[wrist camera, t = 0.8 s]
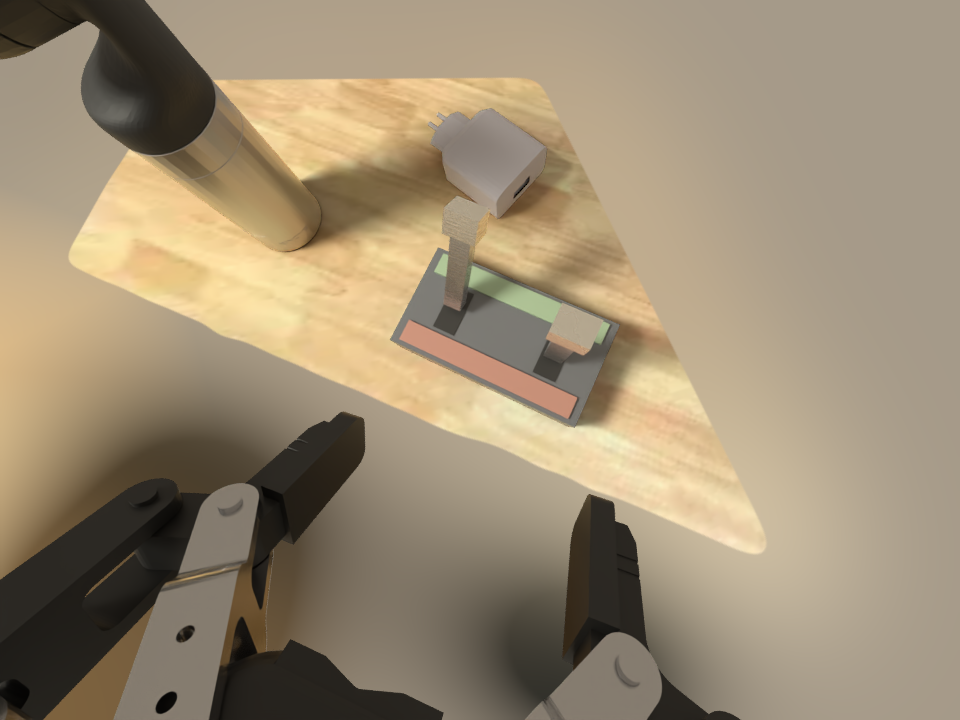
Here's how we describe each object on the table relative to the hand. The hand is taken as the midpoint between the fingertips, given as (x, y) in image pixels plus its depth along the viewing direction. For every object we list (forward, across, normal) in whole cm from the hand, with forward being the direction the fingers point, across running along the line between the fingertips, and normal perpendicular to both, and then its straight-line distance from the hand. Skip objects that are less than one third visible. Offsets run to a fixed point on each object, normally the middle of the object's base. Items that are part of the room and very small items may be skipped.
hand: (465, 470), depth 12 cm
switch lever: (+26, -2, +8) cm, 27 cm away
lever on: (+26, +10, +6) cm, 29 cm away
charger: (+43, +14, -8) cm, 46 cm away
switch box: (+29, +4, +9) cm, 31 cm away
